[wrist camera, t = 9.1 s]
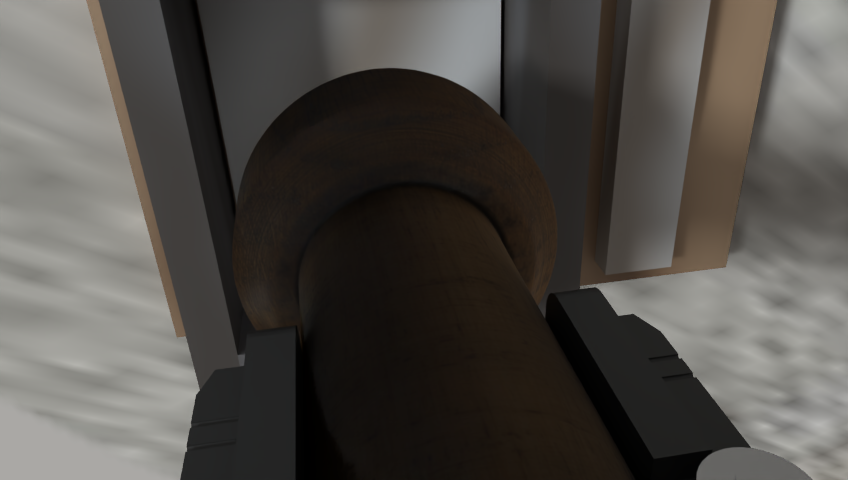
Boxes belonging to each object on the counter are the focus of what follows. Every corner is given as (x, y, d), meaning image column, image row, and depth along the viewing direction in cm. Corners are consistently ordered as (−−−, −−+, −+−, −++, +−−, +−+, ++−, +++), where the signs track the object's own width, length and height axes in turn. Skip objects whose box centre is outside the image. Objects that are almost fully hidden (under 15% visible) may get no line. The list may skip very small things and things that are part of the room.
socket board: (777, -164, 21) (939, -173, 15) (705, 247, 27) (801, 338, 22) (69, -128, 18) (-22, -124, 13) (183, 312, 25) (152, 431, 20)
